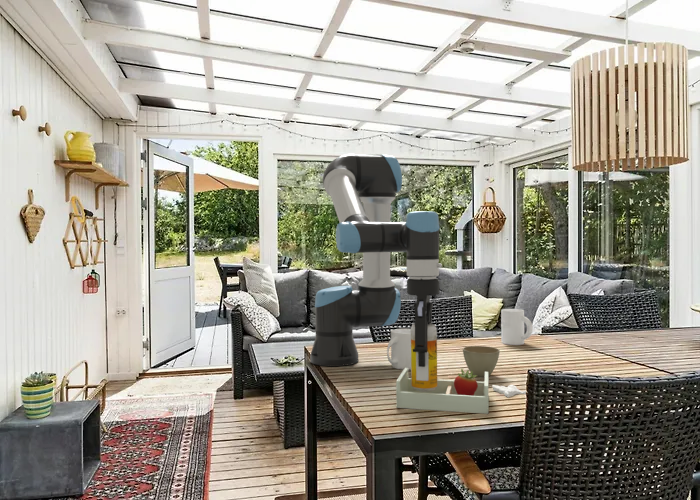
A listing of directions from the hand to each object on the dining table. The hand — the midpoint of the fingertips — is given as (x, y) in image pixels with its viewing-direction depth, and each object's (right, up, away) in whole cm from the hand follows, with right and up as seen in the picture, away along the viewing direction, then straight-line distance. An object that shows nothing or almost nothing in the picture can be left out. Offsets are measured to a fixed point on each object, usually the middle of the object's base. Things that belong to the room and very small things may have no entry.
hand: (424, 376), depth 125 cm
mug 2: (+43, -5, +68) cm, 81 cm away
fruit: (+9, -6, -2) cm, 11 cm away
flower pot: (+19, -5, +24) cm, 31 cm away
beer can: (0, -3, 0) cm, 3 cm away
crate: (+4, -6, -1) cm, 7 cm away
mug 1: (-2, -6, +34) cm, 34 cm away
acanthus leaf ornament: (+22, -6, +7) cm, 24 cm away
